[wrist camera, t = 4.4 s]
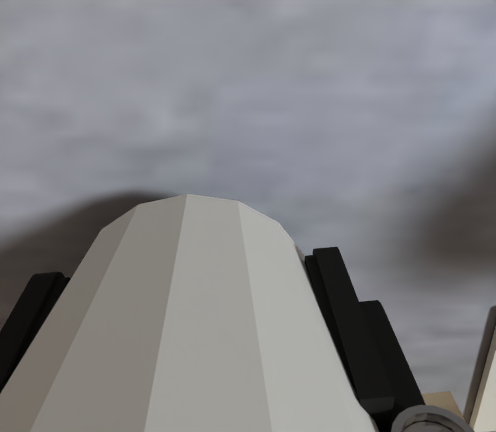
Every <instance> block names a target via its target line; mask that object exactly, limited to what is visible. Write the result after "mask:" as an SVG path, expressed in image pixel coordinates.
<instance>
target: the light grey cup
mask: <svg viewBox="0 0 496 432" xmlns="http://www.w3.org/2000/svg"><path fill="white" fill-rule="evenodd" d="M0 432H379V430H378V428H377V425H376V423H375V421H374V420H373V419H372V418H371V416H370V415H369V414H368V413H367V412H366V411H365V410H364V409H363V408H362V407H361V406H360V404H359V401H358V398H357V395H356V392H355V390H354V388H353V386H352V384H351V382H350V380H349V377H348V375H347V373H346V370H345V368H344V366H343V363H342V361H341V358H340V356H339V354H338V351H337V349H336V346H335V344H334V342H333V339H332V337H331V334H330V332H329V330H328V327H327V325H326V323H325V320H324V318H323V315H322V313H321V310H320V307H319V304H318V301H317V298H316V295H315V292H314V289H313V286H312V283H311V280H310V277H309V274H308V271H307V268H306V265H305V256H304V254H303V253H302V252H301V250H300V249H299V248H298V246H297V245H296V244H295V243H294V241H293V240H292V239H291V238H290V236H289V235H288V234H287V232H286V231H285V230H284V229H283V227H282V226H281V225H280V224H279V222H277V221H275V220H273V219H271V218H269V217H267V216H265V215H264V214H262V213H260V212H258V211H256V210H254V209H252V208H250V207H249V206H247V205H245V204H243V203H241V202H239V201H236V200H229V199H222V198H214V197H207V196H199V195H192V194H185V195H180V196H175V197H171V198H166V199H161V200H157V201H152V202H147V203H143V204H138V205H137V206H135V207H134V208H132V209H131V210H129V211H128V212H127V213H125V214H124V215H122V216H121V217H119V218H118V219H116V220H115V221H113V222H112V223H110V224H109V225H107V226H106V227H104V228H103V229H101V231H100V232H99V234H98V236H97V237H96V239H95V241H94V242H93V244H92V245H91V247H90V249H89V250H88V252H87V254H86V255H85V257H84V258H83V260H82V262H81V263H80V265H79V267H78V268H77V270H76V271H75V273H74V275H73V276H72V278H71V280H70V281H69V283H68V284H67V286H66V288H65V289H64V291H63V293H62V294H61V296H60V298H59V299H58V301H57V302H56V304H55V306H54V307H53V309H52V311H51V312H50V314H49V315H48V317H47V319H46V320H45V322H44V324H43V325H42V327H41V328H40V330H39V332H38V333H37V335H36V337H35V338H34V340H33V341H32V343H31V345H30V346H29V348H28V350H27V351H26V353H25V355H24V356H23V358H22V359H21V361H20V363H19V364H18V366H17V368H16V369H15V371H14V372H13V374H12V376H11V377H10V379H9V381H8V382H7V384H6V385H5V387H4V389H3V390H2V392H1V394H0Z"/></svg>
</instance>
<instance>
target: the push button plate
mask: <svg viewBox="0 0 496 432" xmlns="http://www.w3.org/2000/svg"><path fill="white" fill-rule="evenodd" d="M469 425H470V426H471V427H472V428H473V430H474V431H475V432H484V431H496V326H495V330H494V334H493V338H492V341H491V345H490V349H489V353H488V356H487V360H486V364H485V367H484V371H483V375H482V379H481V382H480V386H479V390H478V394H477V397H476V401H475V405H474V408H473V412H472V416H471V420H470V423H469Z"/></svg>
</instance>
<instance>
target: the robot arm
mask: <svg viewBox="0 0 496 432" xmlns="http://www.w3.org/2000/svg"><path fill="white" fill-rule="evenodd" d="M305 265H306V268H307V271H308V274H309V277H310V280H311V283H312V286H313V289H314V292H315V295H316V298H317V301H318V304H319V307H320V310H321V313H322V315H323V318H324V320H325V323H326V325H327V327H328V330H329V332H330V334H331V337H332V339H333V342H334V344H335V346H336V349H337V351H338V354H339V356H340V358H341V361H342V363H343V366H344V368H345V370H346V373H347V375H348V377H349V380H350V382H351V384H352V386H353V388H354V390H355V392H356V395H357V398H358V401H359V404H360V406H361V407H362V408H363V409H364V410H365V411H366V412H367V413H368V414H369V415H370V416H371V418H372V419H373V420H374V421H375V423H376V425H377V428H378V430H379V432H475V431H474V430H473V428H472V427H471V426H470V425H469V424H467V423H466V422H465V421H464V420H463V419H462V418H461V417H459V416H458V415H456V414H454V413H452V412H450V411H449V410H447V409H443V408H440V407H437V406H433V405H426V404H425V402H424V399H423V397H422V395H421V393H420V390H419V388H418V386H417V383H416V381H415V379H414V377H413V374H412V372H411V370H410V368H409V365H408V363H407V361H406V358H405V356H404V354H403V352H402V349H401V347H400V345H399V343H398V340H397V338H396V336H395V333H394V331H393V329H392V327H391V324H390V322H389V320H388V318H387V315H386V313H385V311H384V308H383V307H382V305H381V303H380V302H379V301H378V300H375V301H364V302H359V301H358V298H357V296H356V293H355V290H354V288H353V285H352V282H351V280H350V277H349V275H348V272H347V269H346V267H345V264H344V261H343V259H342V256H341V253H340V251H339V249H338V247H329V248H318V249H313V255H309V256H305ZM70 280H71V278H69V277H66V278H65V277H64V275H63V274H62V273H61V272H52V273H41V274H35V275H33V276H32V277H31V279H30V281H29V282H28V284H27V286H26V288H25V289H24V291H23V293H22V295H21V296H20V298H19V300H18V302H17V303H16V305H15V307H14V309H13V311H12V312H11V314H10V316H9V318H8V319H7V321H6V323H5V325H4V326H3V328H2V330H1V332H0V394H1V392H2V390H3V389H4V387H5V385H6V384H7V382H8V381H9V379H10V377H11V376H12V374H13V372H14V371H15V369H16V368H17V366H18V364H19V363H20V361H21V359H22V358H23V356H24V355H25V353H26V351H27V350H28V348H29V346H30V345H31V343H32V341H33V340H34V338H35V337H36V335H37V333H38V332H39V330H40V328H41V327H42V325H43V324H44V322H45V320H46V319H47V317H48V315H49V314H50V312H51V311H52V309H53V307H54V306H55V304H56V302H57V301H58V299H59V298H60V296H61V294H62V293H63V291H64V289H65V288H66V286H67V284H68V283H69V281H70Z"/></svg>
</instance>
